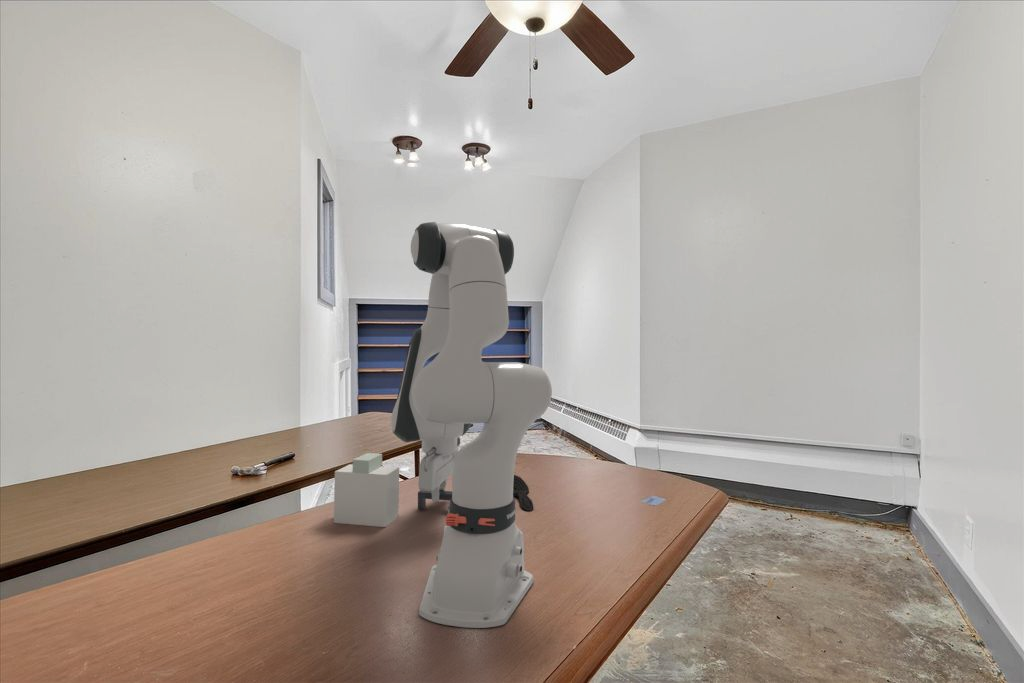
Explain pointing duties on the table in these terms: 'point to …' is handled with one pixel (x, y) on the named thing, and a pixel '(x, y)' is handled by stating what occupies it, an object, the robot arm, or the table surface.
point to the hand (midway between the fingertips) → (438, 498)
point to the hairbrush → (522, 493)
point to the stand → (366, 492)
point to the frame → (427, 495)
